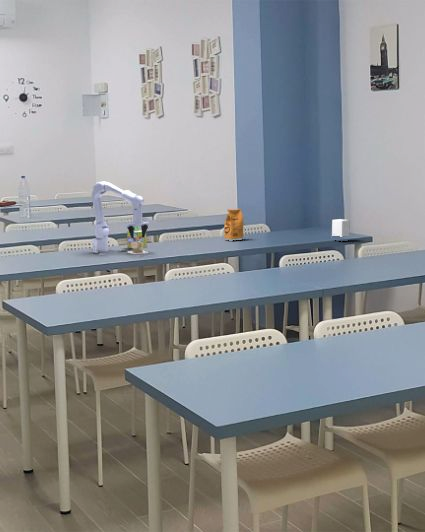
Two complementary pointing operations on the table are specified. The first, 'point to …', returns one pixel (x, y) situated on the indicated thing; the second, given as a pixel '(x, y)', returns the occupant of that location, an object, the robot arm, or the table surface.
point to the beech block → (138, 247)
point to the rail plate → (126, 250)
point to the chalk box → (135, 238)
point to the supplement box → (340, 227)
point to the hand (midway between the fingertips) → (137, 237)
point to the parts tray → (137, 253)
